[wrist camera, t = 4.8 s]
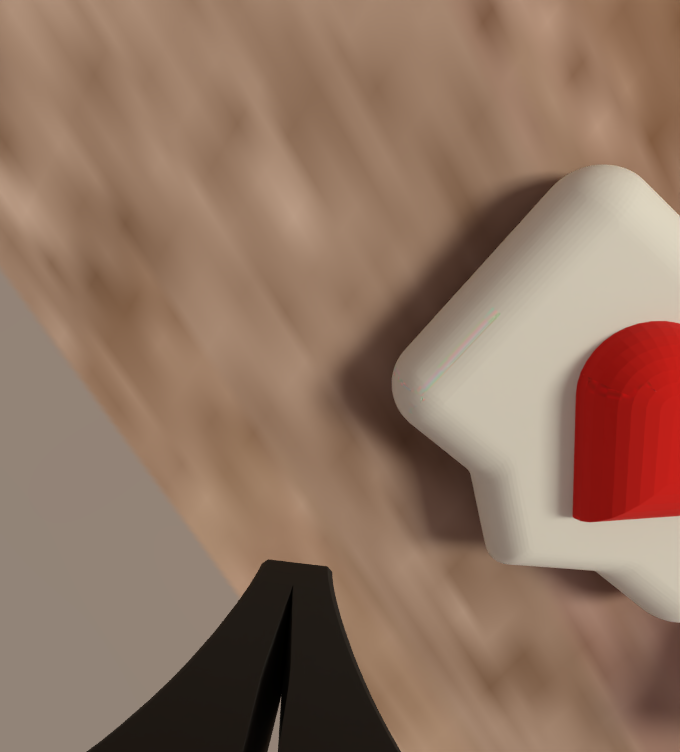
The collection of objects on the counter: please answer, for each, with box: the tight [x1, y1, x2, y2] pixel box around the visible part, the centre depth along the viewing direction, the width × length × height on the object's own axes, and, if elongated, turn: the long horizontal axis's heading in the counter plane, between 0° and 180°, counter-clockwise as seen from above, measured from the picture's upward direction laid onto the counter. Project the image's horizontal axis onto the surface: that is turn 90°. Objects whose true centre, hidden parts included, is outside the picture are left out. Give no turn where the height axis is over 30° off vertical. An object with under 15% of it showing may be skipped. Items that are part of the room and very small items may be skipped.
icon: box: [392, 165, 680, 623], centre depth 15 cm, size 12×4×10 cm
